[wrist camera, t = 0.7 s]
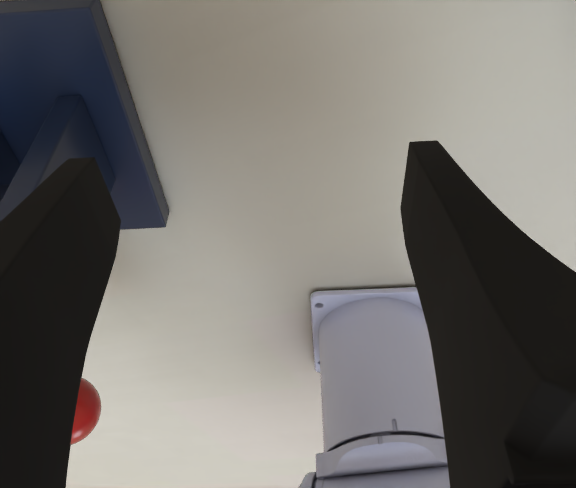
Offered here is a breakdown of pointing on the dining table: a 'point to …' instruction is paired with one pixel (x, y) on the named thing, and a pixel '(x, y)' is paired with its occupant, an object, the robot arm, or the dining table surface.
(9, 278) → the robot arm
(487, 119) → the dining table surface
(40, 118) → the bracket
